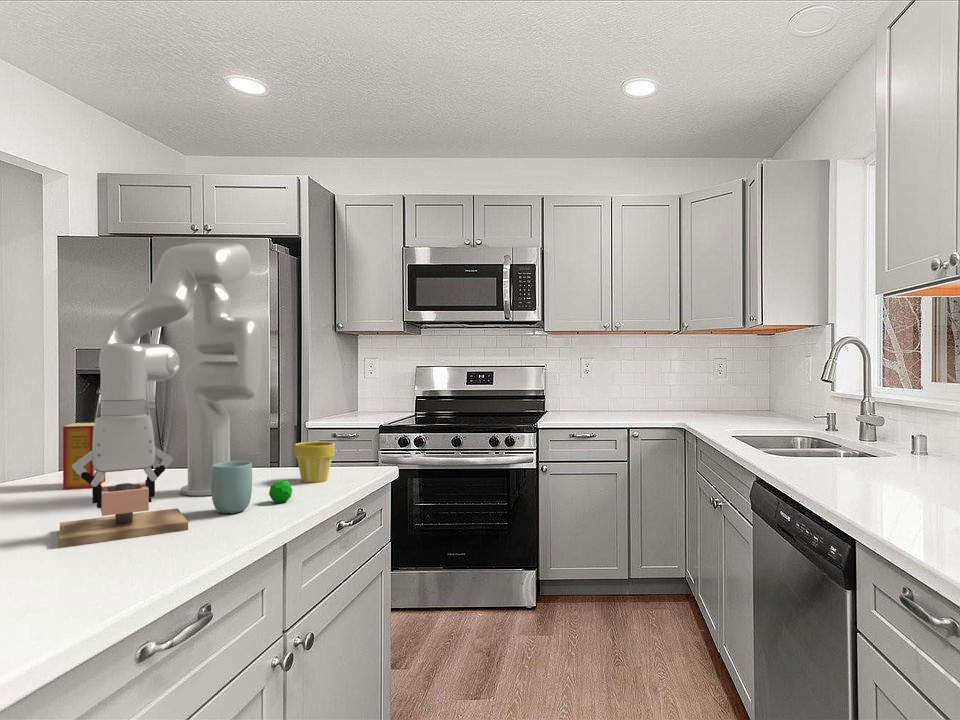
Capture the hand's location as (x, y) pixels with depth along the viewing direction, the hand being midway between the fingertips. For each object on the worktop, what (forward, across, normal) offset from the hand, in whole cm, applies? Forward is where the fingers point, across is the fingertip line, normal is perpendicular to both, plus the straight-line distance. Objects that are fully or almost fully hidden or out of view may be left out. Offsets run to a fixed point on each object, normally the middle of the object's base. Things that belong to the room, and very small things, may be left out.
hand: (124, 503), depth 116 cm
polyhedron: (+5, -31, -7) cm, 32 cm away
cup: (+5, -20, -4) cm, 21 cm away
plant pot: (+5, -46, -28) cm, 54 cm away
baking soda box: (+5, +5, -55) cm, 55 cm away
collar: (+1, 0, 0) cm, 1 cm away
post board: (+5, 0, 0) cm, 5 cm away
